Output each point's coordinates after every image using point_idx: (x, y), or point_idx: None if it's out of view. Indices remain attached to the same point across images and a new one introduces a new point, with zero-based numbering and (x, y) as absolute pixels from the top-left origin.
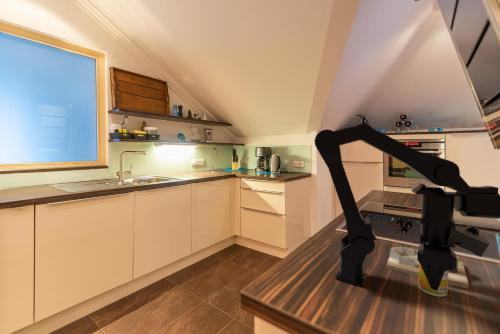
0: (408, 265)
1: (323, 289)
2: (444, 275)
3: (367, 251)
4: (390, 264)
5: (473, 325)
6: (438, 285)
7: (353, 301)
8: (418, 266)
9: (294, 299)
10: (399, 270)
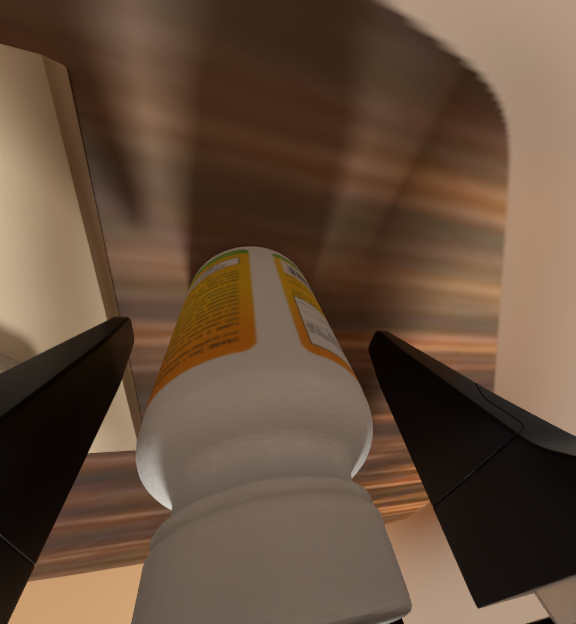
0: None
1: (372, 480)
2: (334, 339)
3: (401, 620)
4: (123, 441)
5: (485, 194)
6: (413, 350)
7: (404, 444)
8: (16, 362)
9: (416, 489)
10: (137, 405)
